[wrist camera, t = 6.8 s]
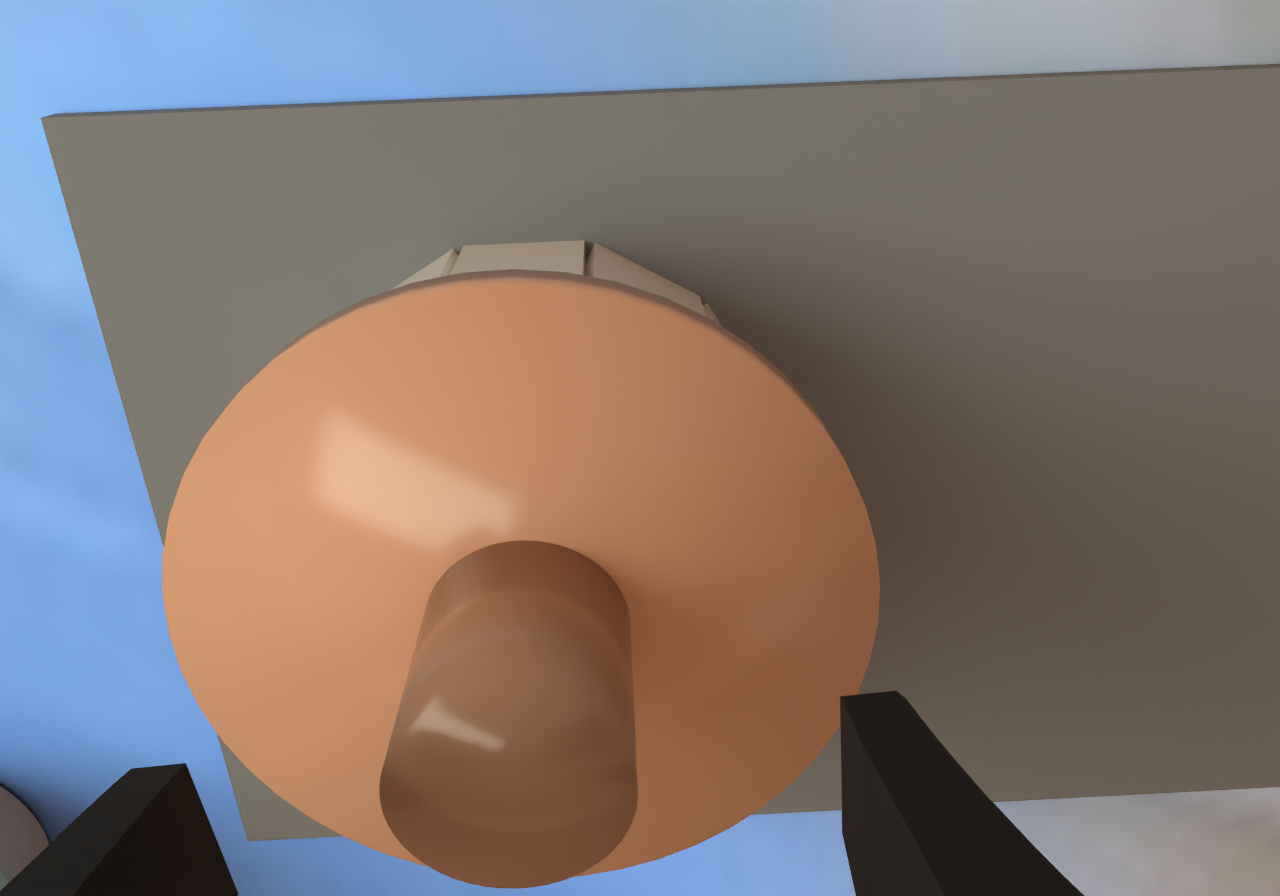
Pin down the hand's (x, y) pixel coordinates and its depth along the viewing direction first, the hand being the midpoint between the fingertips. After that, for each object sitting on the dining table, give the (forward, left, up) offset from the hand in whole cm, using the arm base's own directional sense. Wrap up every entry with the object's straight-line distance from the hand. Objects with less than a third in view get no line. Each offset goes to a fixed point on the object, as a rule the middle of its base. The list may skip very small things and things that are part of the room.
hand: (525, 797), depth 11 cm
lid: (0, +1, -5) cm, 5 cm away
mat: (-6, +2, -10) cm, 12 cm away
